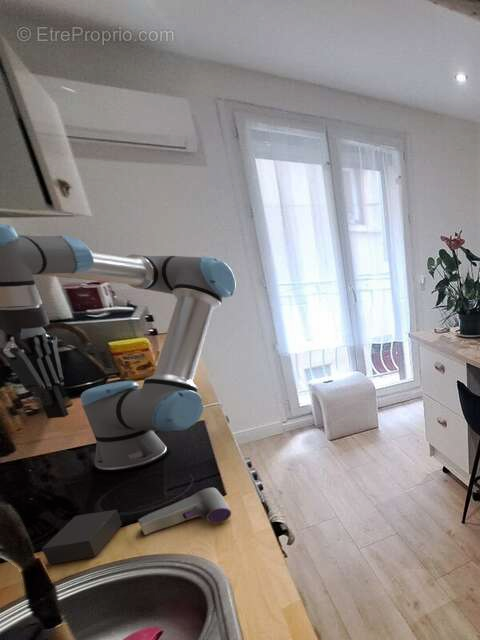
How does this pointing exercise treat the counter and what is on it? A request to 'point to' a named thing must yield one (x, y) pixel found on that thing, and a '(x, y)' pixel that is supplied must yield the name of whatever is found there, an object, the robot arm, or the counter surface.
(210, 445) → the counter surface
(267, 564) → the counter surface
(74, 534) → the block
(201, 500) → the infrared thermometer
